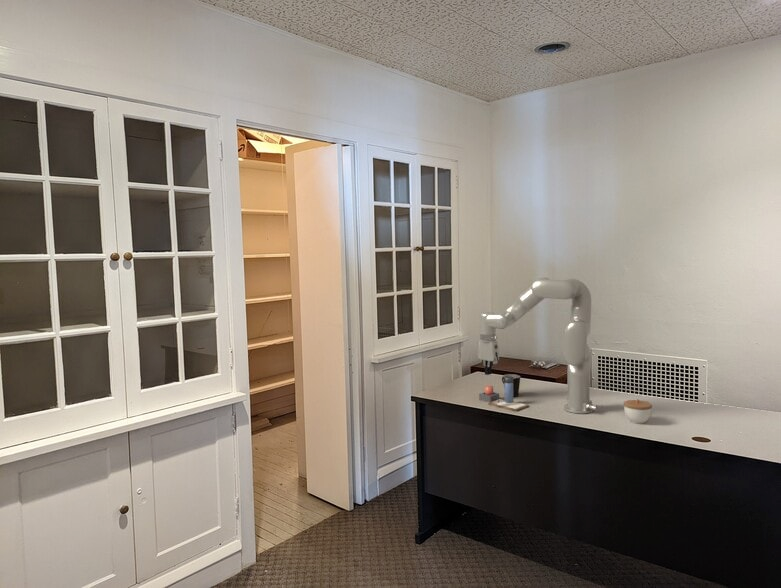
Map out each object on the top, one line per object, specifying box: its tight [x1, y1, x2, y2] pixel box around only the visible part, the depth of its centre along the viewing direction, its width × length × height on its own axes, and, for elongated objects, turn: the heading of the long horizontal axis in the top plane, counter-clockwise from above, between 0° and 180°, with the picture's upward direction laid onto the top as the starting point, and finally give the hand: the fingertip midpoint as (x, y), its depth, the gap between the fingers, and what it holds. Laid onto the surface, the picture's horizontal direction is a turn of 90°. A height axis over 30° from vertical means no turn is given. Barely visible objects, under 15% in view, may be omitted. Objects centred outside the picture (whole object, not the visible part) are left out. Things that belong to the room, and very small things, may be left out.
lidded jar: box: [623, 398, 653, 425], centre depth 227 cm, size 11×11×9 cm
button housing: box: [478, 391, 500, 403], centre depth 267 cm, size 7×7×3 cm
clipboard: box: [487, 398, 530, 412], centre depth 256 cm, size 16×10×1 cm, turn 41°
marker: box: [504, 376, 514, 403], centre depth 258 cm, size 4×4×12 cm
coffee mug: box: [501, 373, 521, 399], centre depth 273 cm, size 12×9×10 cm
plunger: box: [484, 385, 494, 395], centre depth 266 cm, size 4×4×5 cm
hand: (488, 374), depth 266 cm, fingers closed
